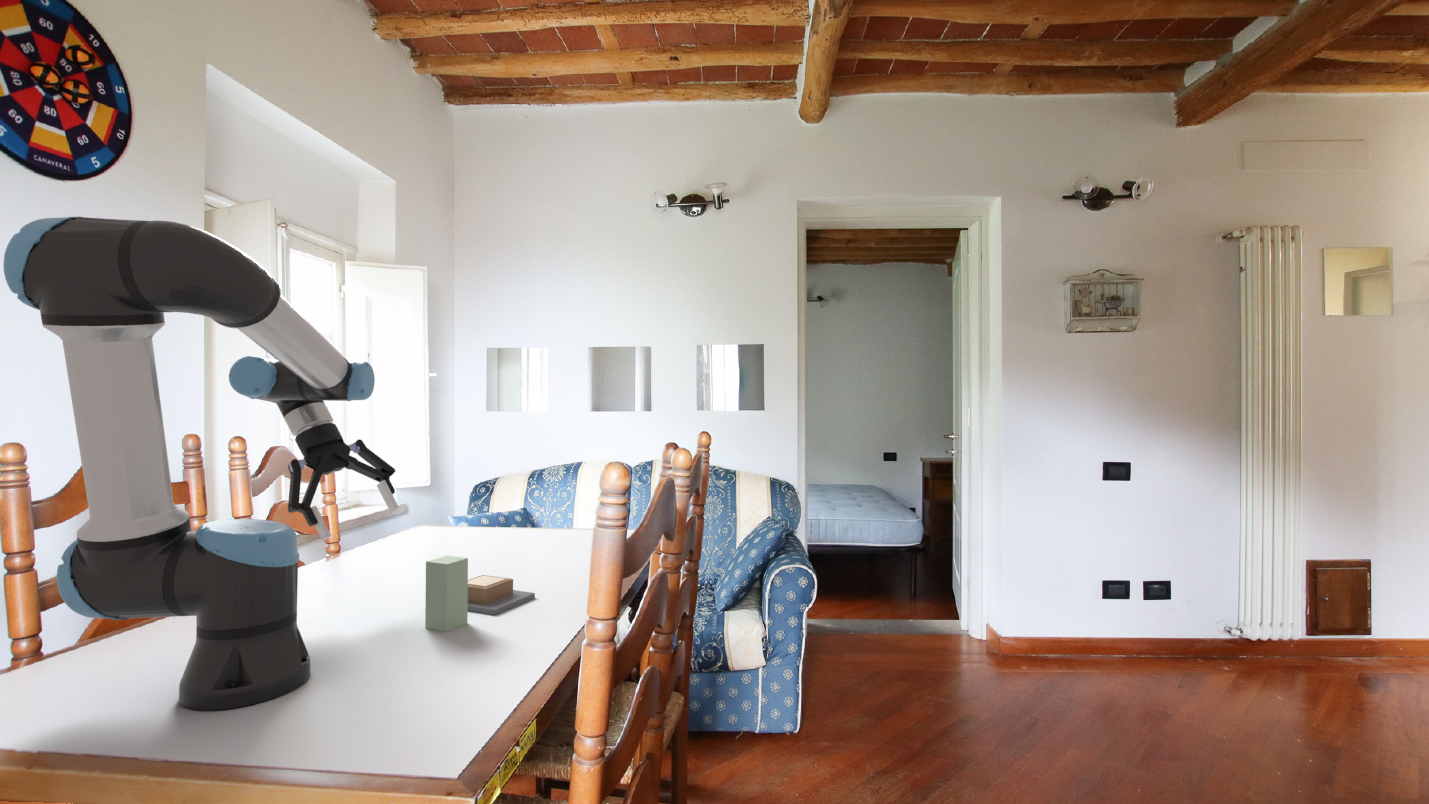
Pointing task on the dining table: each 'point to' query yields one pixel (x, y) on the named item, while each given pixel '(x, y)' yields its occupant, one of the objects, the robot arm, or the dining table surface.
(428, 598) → the sage block
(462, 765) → the dining table surface
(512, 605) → the build base
